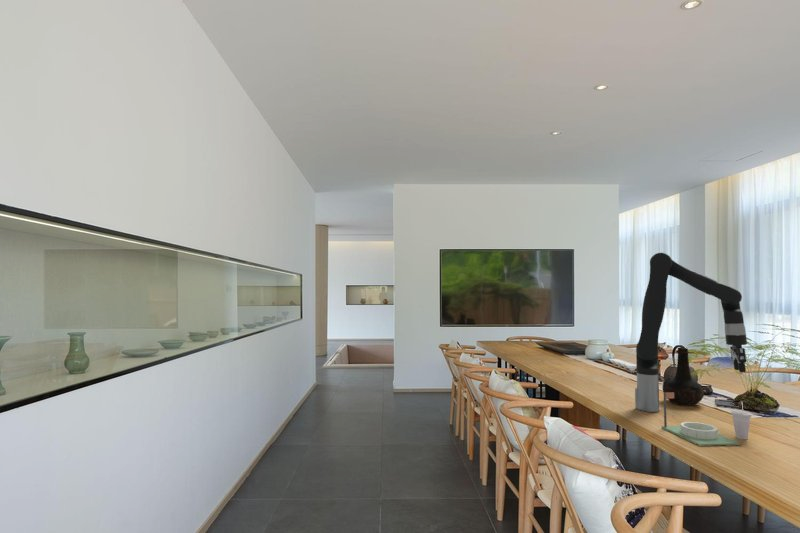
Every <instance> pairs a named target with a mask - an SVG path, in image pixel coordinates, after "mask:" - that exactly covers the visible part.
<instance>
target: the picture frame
mask: <svg viewBox="0 0 800 533" xmlns="http://www.w3.org/2000/svg"><path fill="white" fill-rule="evenodd" d="M733 401H734V400H731V399H730V400H729V399H720V398H714V402H716V403H715V406H716V405H717V406H716V407H718V406H724V407H723V408H727V407H731V408H730V409H735V408H740V407H739V406H734V405H735V404H734V403H732V402H733Z"/></svg>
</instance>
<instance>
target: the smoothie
mask: <svg viewBox="0 0 800 533" xmlns="http://www.w3.org/2000/svg"><path fill="white" fill-rule="evenodd" d="M740 402H741V404H742V409H741V410H731V411H730V412H731V413H730V415H731V417H732V421H733V428H734V433H735V438H736V439H739V440H748V438H749V430H750V425H751V424H750V423H751V418H752V414H751V413H750V412H747V411H744V409H743V402H744V401H740Z"/></svg>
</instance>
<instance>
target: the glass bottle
mask: <svg viewBox="0 0 800 533" xmlns="http://www.w3.org/2000/svg"><path fill="white" fill-rule="evenodd" d="M688 350H689V349H688V348H685V347H677V350H676V351H675V353H677V364H676V373H675V376H673V377H672V378H671V377H668V378H666V379H665V380H664V381H663V383H662V393H663V394H664V392H665V393H672V392H674V398H669V399H668V400H669V401H670V402H671V403H673V404H676V405H679V406H688V407H689V406H690V407H691V406H694V405H698V404H699V403H700V402H701V401H702V400H703V399H704V396H705V390H704V388H703V387H702V385H701V384H700V383H699V382H698V381H696V380H695V379H693V377H692V374H691V370H690V363H689V354H690V353H691V352H690V351H688Z"/></svg>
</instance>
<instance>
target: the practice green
mask: <svg viewBox="0 0 800 533" xmlns="http://www.w3.org/2000/svg"><path fill="white" fill-rule="evenodd" d="M669 398H674V392H672V393H665V392H664V393H663V418H664V419H663V421H664V424H663V425H661V429H663V430H664V431H667V432H669V431H670V432H669V433H671V432H672V433H671V434H673V433H674V435H675V434H676V435H675V436H677V435H678V436H677V437H679V436H680V437H679V438H681V437H682V438H681V439H683V438H685V439H687V440H686V441H688V440H689V441H688V442H690V441H691V442H690V443H692V442H694V443H696V444H698V445H738V446H741V445H742V443H741V442H740V441H739V442H738V441H736V440H734V439H732V438H729V437H727V436H724V435H722V434H719V433H718V432H719V431H718V428H717V427H716V426H713V425H712V424H708V423H703V422H696V421H695V422H694V421H684V422H683V421H682V422H681V423H680V425H667V400H669ZM685 439H684V440H685ZM694 443H693V444H694ZM696 444H695V445H696ZM698 445H697V446H698Z"/></svg>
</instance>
